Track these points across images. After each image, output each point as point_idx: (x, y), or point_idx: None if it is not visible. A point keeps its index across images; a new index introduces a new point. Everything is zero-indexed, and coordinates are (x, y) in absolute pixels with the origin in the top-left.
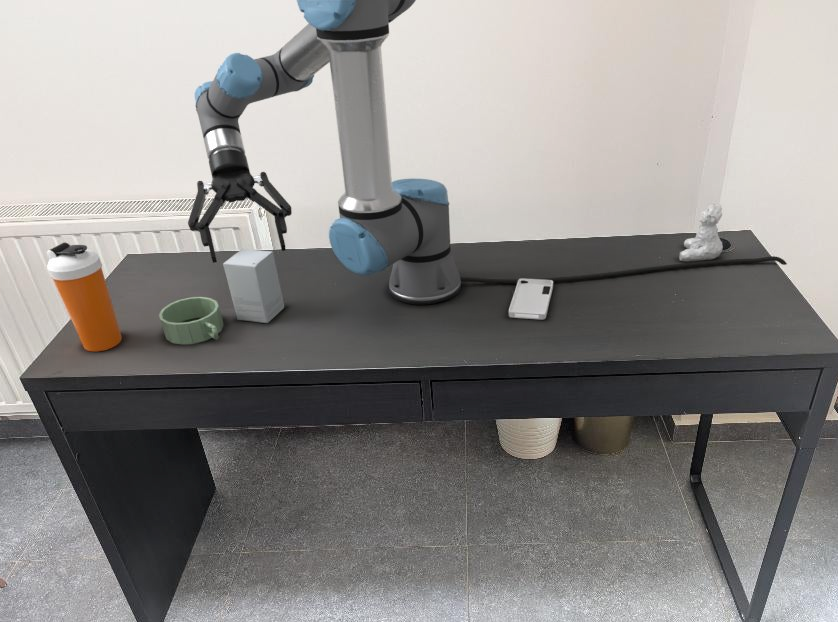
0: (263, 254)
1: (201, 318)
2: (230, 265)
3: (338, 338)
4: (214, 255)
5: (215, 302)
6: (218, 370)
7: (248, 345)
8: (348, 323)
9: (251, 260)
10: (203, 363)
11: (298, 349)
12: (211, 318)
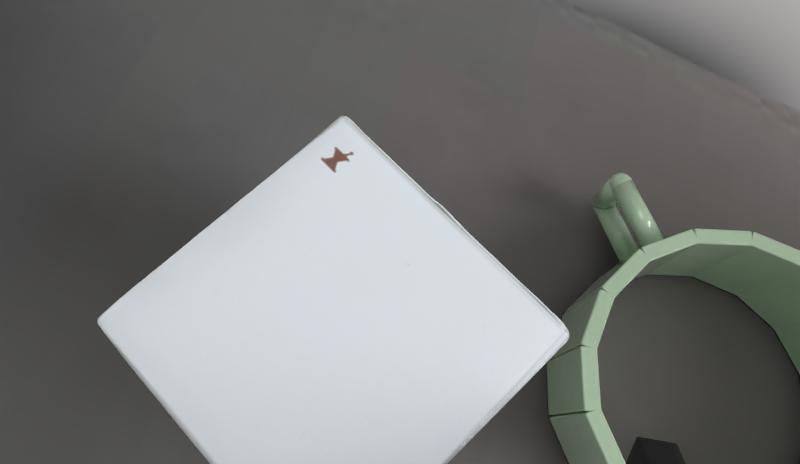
0: (196, 294)
1: (682, 245)
2: (512, 277)
3: (162, 6)
4: (647, 448)
5: (593, 393)
6: (614, 32)
7: (480, 133)
8: (69, 82)
9: (334, 224)
10: (661, 100)
11: (320, 13)
12: (626, 259)
